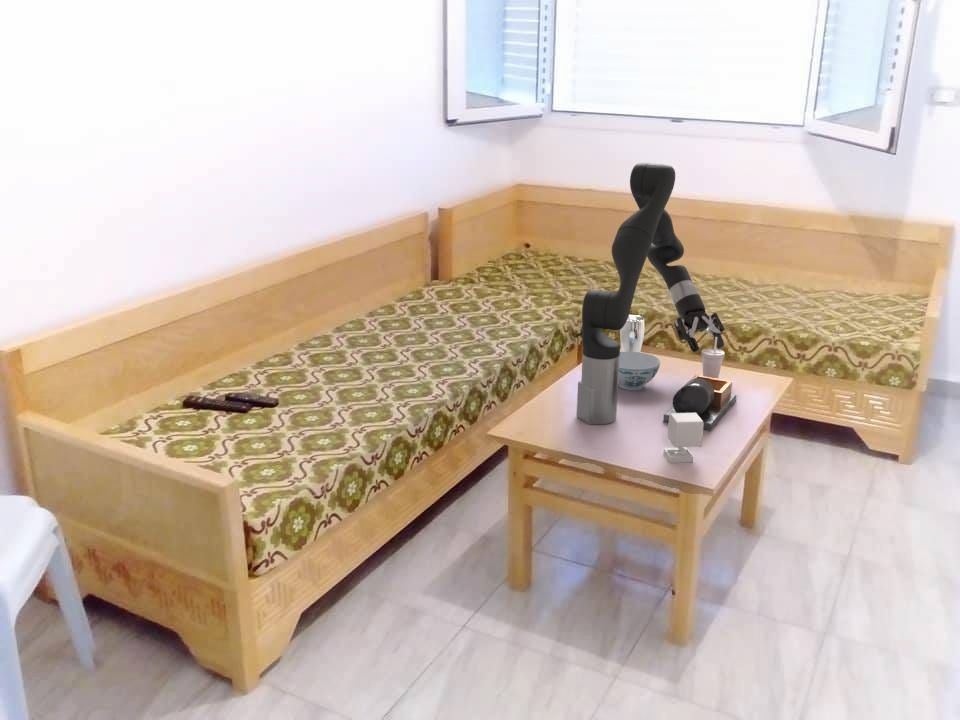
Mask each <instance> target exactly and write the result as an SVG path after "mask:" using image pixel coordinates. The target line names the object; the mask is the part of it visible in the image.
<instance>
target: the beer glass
mask: <svg viewBox="0 0 960 720" xmlns="http://www.w3.org/2000/svg"><path fill="white" fill-rule="evenodd" d="M644 336H645V318H644V317H643V316H642V315H635V314H629V316H628V319H627V321H626V323H625V325H624V327H623V328H622V329H620V330H619V338H620V351H621V352H641V350H642V346H643V342H644V338H645V337H644Z"/></svg>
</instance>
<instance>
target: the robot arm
mask: <svg viewBox="0 0 960 720" xmlns="http://www.w3.org/2000/svg"><path fill="white" fill-rule="evenodd" d="M675 183H676V170H675V168H674V167H673V166H672V165H670V164H665V163H653V162H638V163H636V164H635V165H634V166H633V167H632V170H631V173H630V178H629V188H630V191H631V195H632V197H633V199H634V201H635V203H636V206H637V207H638V209H639V210H637V211H635V212H634V213H633V214H632V215H630V216H629V217H628V218H626V219H625V220H624V221H623V222H622V223H621V224H620V225H619V227H618V230H617V232H616V234H615V237H614V240H613V242H612V245H611V256H612V260H613V263H614V264H615V265H614V266H615V268H616V270H617V272H618V277H619V281H620V283H619V288H618V290H617V291H608V290H600V289H590V290H588V291H587V292H586V293H585V295H584V297H583V302H582V306H581V307H582V309H581V333H582V334H581V344H582V360H581V361H582V362H581V363H582V364H581V379H580V381H578V382H577V397H576V417H577V418H579V419H580V420H581V421H583V422H585V423H586V424H587V425H607V424H611V423H613V422H616V420H617V411H618V410H617V408H618V391H619V390H618V389H619V383H618V377H619V361H620V352H621V344H620V343H619V342H618V341H617V340H616V339H614V338H612V337H610V336H609V335H607V333H605V332H604V331H603V330H611V331H620V329H622V328H623V327H624V325H625V323H626V321H627V319H628V316H629V315H630V312H631V309H632V305H633V299H634V296H635V294H636V289H637V285H638V282H639V279H640V276H641V273H642V270H643V267H644V265H645V263H646V261H647V260H648V261H649V262H650V264H651V265H652V266H653V267H654V269H655V270H656V271H658V273H659V274H660V276H661V277H662V279H663V280H664V283H665V284H666V287H667V289H668V291H669V294H670V297H671V300H672V302H673V305H674V307H675V309H676V312H677V314H678V316H679V317H677V318H676V320H675V321H673V326H674V328H675V331H676V334H677V336H678V339H679V341H685V342H687V344H688V346H689V348H690V351H692V352H693V353H694V354H695V353H697V352H699V351H700V347H699V345H698V342H697V340H696V338H695V337H694V335H695V333H698V332H700V333H701V332H702V333H703V332H704V333H706V334H709V335H710V336H712V337H713V338H712V339H713V341H714V342H715V337H717V346H716V349H719V350H721V349H722V348H723V347H724V346H725V342H724V339H723V338H722V335H721V334H722V333H723V332H724V331H725V327H724V325H723V323H722V321H721V319H720V318H719V316H718V313H716V312H713V313H712V314H707V313H706V306H705V304H704V302H703V300H702V298H701V295H700V293H699V291H698V289H697V287H696V285H695V283H694V282H693V280H692V278H691V275H690V273H689V271H688V269H687V267H686V266H685V265H683V264H677V265H668V264H672V263H674V262H676V261H679V260H680V259H682V257H684V253H685V248H684V245H683V243H682V241H681V240H680V239H679V238H678V236H677V235H676V233H675V230H674V225H673V220H672V217H671V215H670V214H669V212H668V211H667V210H666V209H665V208H666V206H667V204H668V202H669V201H670V200H669V199H670V197H671V195H672V192H673V190H674V186H675ZM602 329H603V330H602Z"/></svg>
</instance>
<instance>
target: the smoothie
mask: <svg viewBox="0 0 960 720" xmlns="http://www.w3.org/2000/svg"><path fill="white" fill-rule="evenodd" d="M725 354H726V353H725V351H724V350H723V349H718V348H717V337H715V341H714V347H713V348H712V347H711V348H704V349H702V350H701V352H700V355H701V357H702V358H701V361H702V376H705V377H711V378H717V379H719V377H720V372H721V369H722V364H723V360H724V358H725Z"/></svg>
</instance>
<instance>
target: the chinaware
mask: <svg viewBox="0 0 960 720" xmlns="http://www.w3.org/2000/svg"><path fill="white" fill-rule="evenodd" d="M660 365H661V360H660V358H659V357H657V356H655V355H653V354H649V353H645V352H641V351H640V352H622V351H620V361H619V377H618V387H619V388H621V389H623V390H627V391H639V390H642V389H643V388H644V386H645V385H647V384H648V383H649V382H651V381H652V380H653V379H654V378H655V377H656V375H657V374H658V372H659V369H660Z"/></svg>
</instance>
